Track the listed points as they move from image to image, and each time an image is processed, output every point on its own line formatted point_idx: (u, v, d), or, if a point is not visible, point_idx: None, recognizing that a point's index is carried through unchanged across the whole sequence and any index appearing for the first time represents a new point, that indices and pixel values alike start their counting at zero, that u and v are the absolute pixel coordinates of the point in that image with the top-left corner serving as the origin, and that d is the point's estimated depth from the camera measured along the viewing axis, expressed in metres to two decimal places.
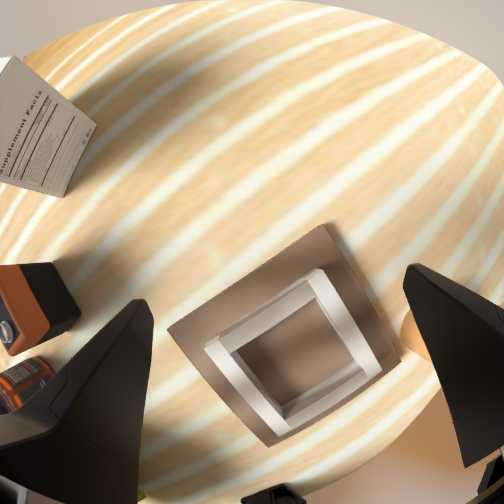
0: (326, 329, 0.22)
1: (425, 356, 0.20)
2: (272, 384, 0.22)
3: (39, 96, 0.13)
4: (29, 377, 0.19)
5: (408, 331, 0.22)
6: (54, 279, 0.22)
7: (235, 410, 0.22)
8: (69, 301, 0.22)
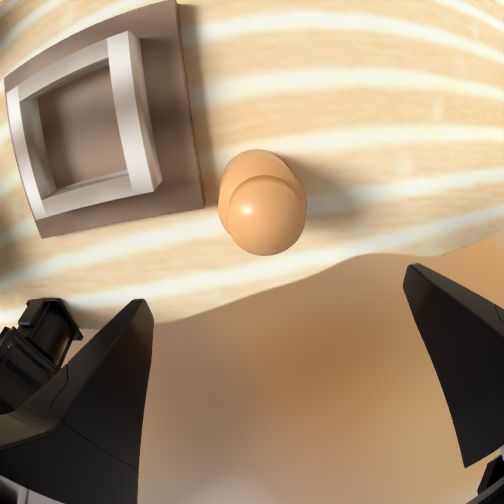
0: None
1: None
2: (54, 157, 0.16)
3: None
4: None
5: (225, 170, 0.18)
6: None
7: None
8: None
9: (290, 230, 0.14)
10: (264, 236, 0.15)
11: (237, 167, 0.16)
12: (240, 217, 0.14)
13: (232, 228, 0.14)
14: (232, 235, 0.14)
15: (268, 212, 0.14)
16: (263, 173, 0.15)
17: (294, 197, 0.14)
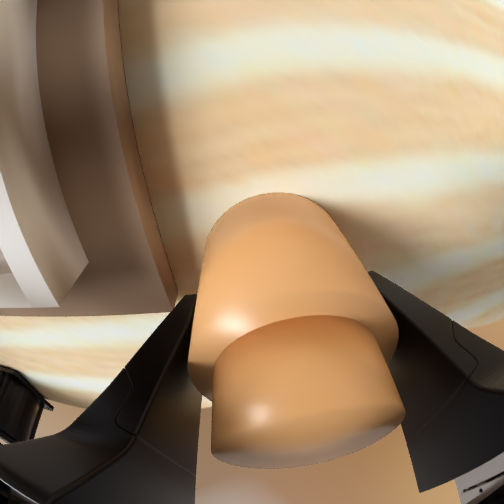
0: None
1: None
2: None
3: None
4: None
5: (209, 249, 0.08)
6: None
7: None
8: None
9: (361, 442, 0.05)
10: (301, 457, 0.05)
11: (233, 272, 0.06)
12: (243, 450, 0.04)
13: (224, 456, 0.04)
14: (225, 460, 0.05)
15: (320, 438, 0.04)
16: (310, 312, 0.05)
17: (397, 407, 0.04)
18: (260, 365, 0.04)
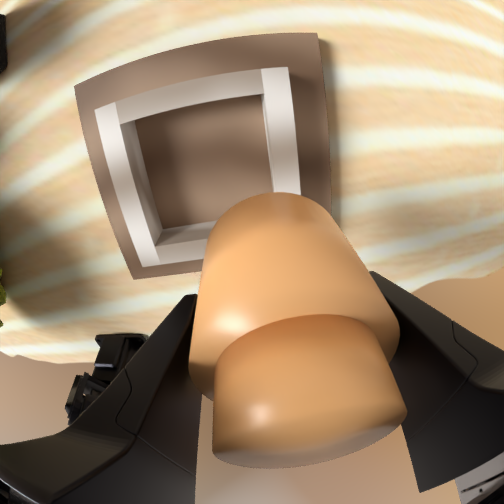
0: (258, 152, 0.16)
1: None
2: (162, 194, 0.17)
3: None
4: None
5: (210, 248, 0.08)
6: None
7: (110, 212, 0.18)
8: (0, 51, 0.09)
9: (362, 442, 0.05)
10: (302, 456, 0.05)
11: (234, 271, 0.06)
12: (245, 449, 0.04)
13: (225, 456, 0.04)
14: (226, 460, 0.05)
15: (321, 437, 0.04)
16: (312, 311, 0.05)
17: (399, 406, 0.04)
18: (262, 364, 0.04)
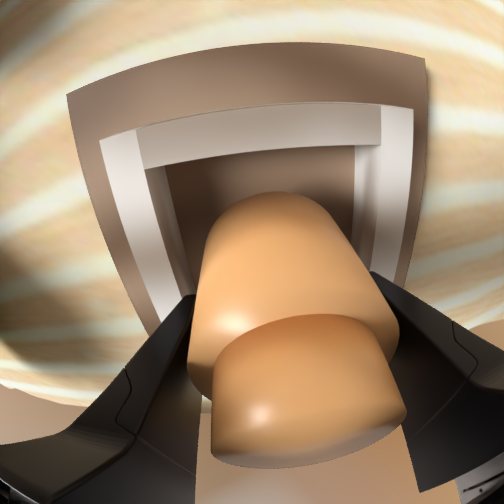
0: (341, 214, 0.12)
1: None
2: None
3: None
4: None
5: (209, 248, 0.08)
6: None
7: (125, 279, 0.13)
8: None
9: (361, 442, 0.05)
10: (301, 457, 0.05)
11: (233, 271, 0.06)
12: (243, 449, 0.04)
13: (223, 456, 0.04)
14: (224, 460, 0.05)
15: (321, 438, 0.04)
16: (311, 311, 0.05)
17: (398, 406, 0.04)
18: (260, 364, 0.04)
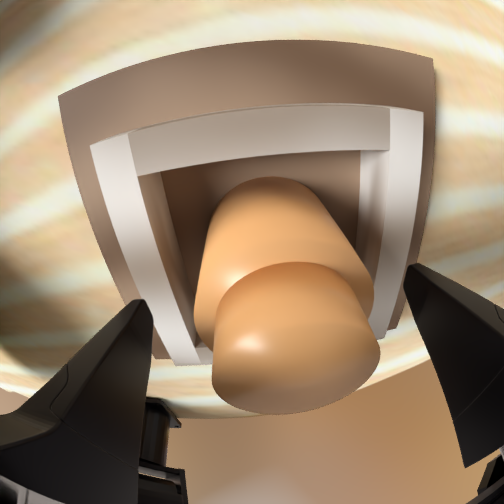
0: (345, 221, 0.12)
1: None
2: None
3: None
4: None
5: (213, 222, 0.10)
6: None
7: (121, 288, 0.13)
8: None
9: (344, 383, 0.06)
10: (291, 396, 0.06)
11: (233, 232, 0.07)
12: (239, 377, 0.06)
13: (222, 389, 0.06)
14: (223, 397, 0.06)
15: (305, 366, 0.05)
16: (294, 258, 0.06)
17: (369, 336, 0.05)
18: (253, 296, 0.06)
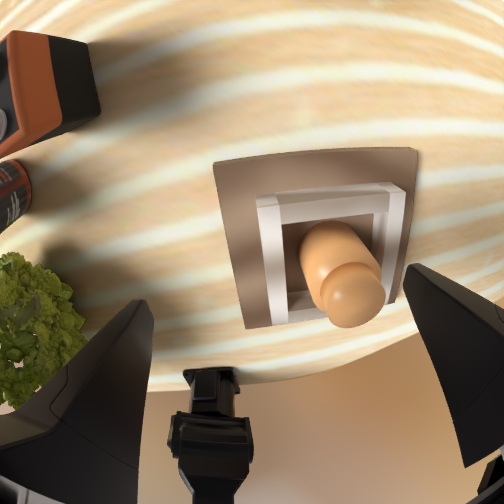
0: (365, 241, 0.22)
1: (309, 287, 0.18)
2: (289, 268, 0.23)
3: None
4: None
5: (307, 244, 0.20)
6: (84, 63, 0.13)
7: (238, 281, 0.23)
8: (93, 94, 0.14)
9: (373, 309, 0.16)
10: (353, 315, 0.16)
11: (327, 250, 0.18)
12: (338, 304, 0.16)
13: (330, 312, 0.16)
14: (329, 316, 0.16)
15: (360, 298, 0.16)
16: (353, 260, 0.17)
17: (381, 286, 0.15)
18: (342, 274, 0.16)
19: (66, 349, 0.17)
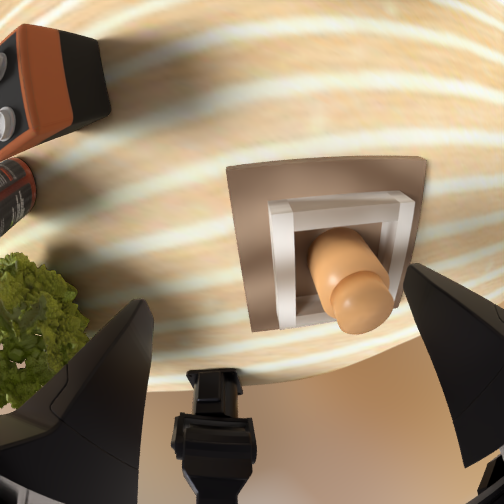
0: (372, 247, 0.22)
1: (319, 294, 0.19)
2: (298, 273, 0.23)
3: None
4: (4, 188, 0.14)
5: (318, 251, 0.20)
6: (94, 61, 0.13)
7: (247, 285, 0.23)
8: (103, 93, 0.14)
9: (381, 316, 0.17)
10: (362, 322, 0.17)
11: (338, 258, 0.18)
12: (349, 312, 0.16)
13: (340, 319, 0.16)
14: (339, 324, 0.17)
15: (370, 306, 0.16)
16: (363, 269, 0.17)
17: (390, 295, 0.16)
18: (353, 283, 0.16)
19: (72, 352, 0.17)
